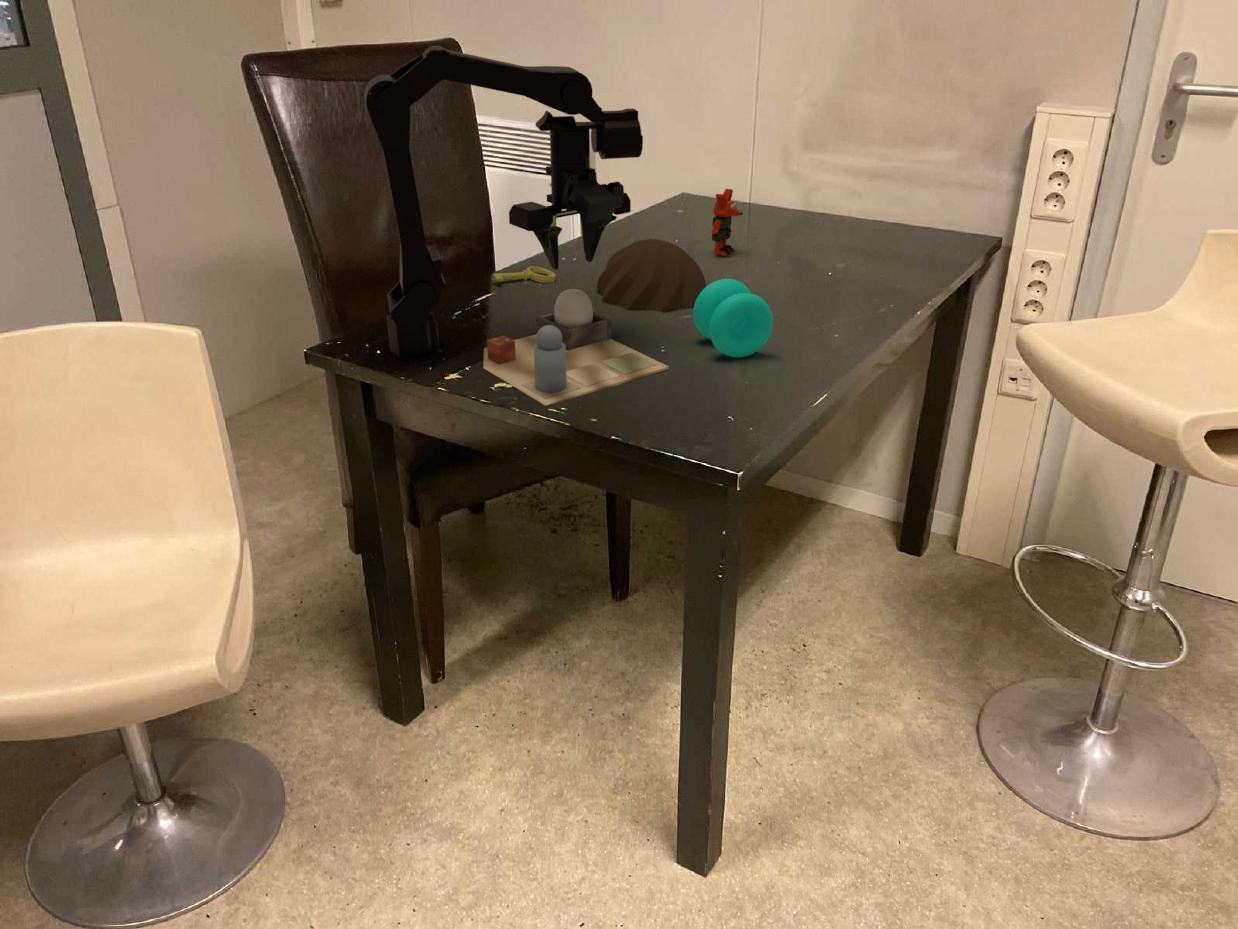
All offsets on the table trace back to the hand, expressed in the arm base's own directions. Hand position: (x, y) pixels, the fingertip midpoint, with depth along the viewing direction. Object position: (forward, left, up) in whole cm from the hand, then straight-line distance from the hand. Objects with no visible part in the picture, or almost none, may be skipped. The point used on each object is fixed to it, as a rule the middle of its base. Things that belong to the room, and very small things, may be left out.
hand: (572, 265), depth 153 cm
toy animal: (+52, +20, -12) cm, 57 cm away
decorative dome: (+24, +10, -12) cm, 29 cm away
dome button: (0, 0, -10) cm, 10 cm away
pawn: (-14, -14, -12) cm, 23 cm away
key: (+6, +26, -12) cm, 29 cm away
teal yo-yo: (+17, -18, -12) cm, 28 cm away
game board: (-7, -7, -12) cm, 16 cm away
